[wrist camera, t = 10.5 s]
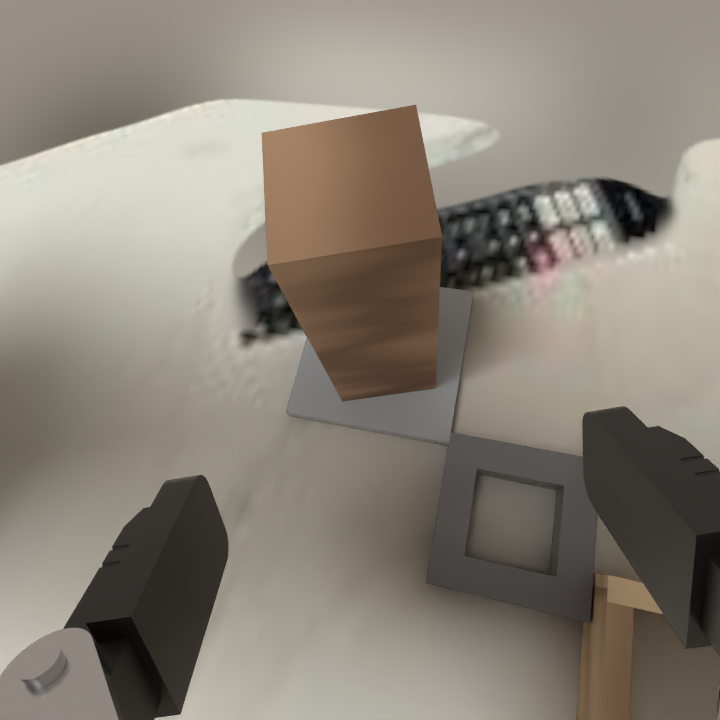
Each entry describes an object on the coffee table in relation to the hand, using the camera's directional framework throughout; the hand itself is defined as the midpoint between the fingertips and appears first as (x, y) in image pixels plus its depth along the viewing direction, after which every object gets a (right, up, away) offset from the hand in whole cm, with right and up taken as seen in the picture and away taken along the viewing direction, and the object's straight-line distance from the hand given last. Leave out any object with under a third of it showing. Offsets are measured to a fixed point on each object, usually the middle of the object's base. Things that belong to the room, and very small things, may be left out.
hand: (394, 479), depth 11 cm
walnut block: (0, +3, +12) cm, 12 cm away
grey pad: (0, +3, +12) cm, 13 cm away
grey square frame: (+5, -4, +9) cm, 11 cm away
